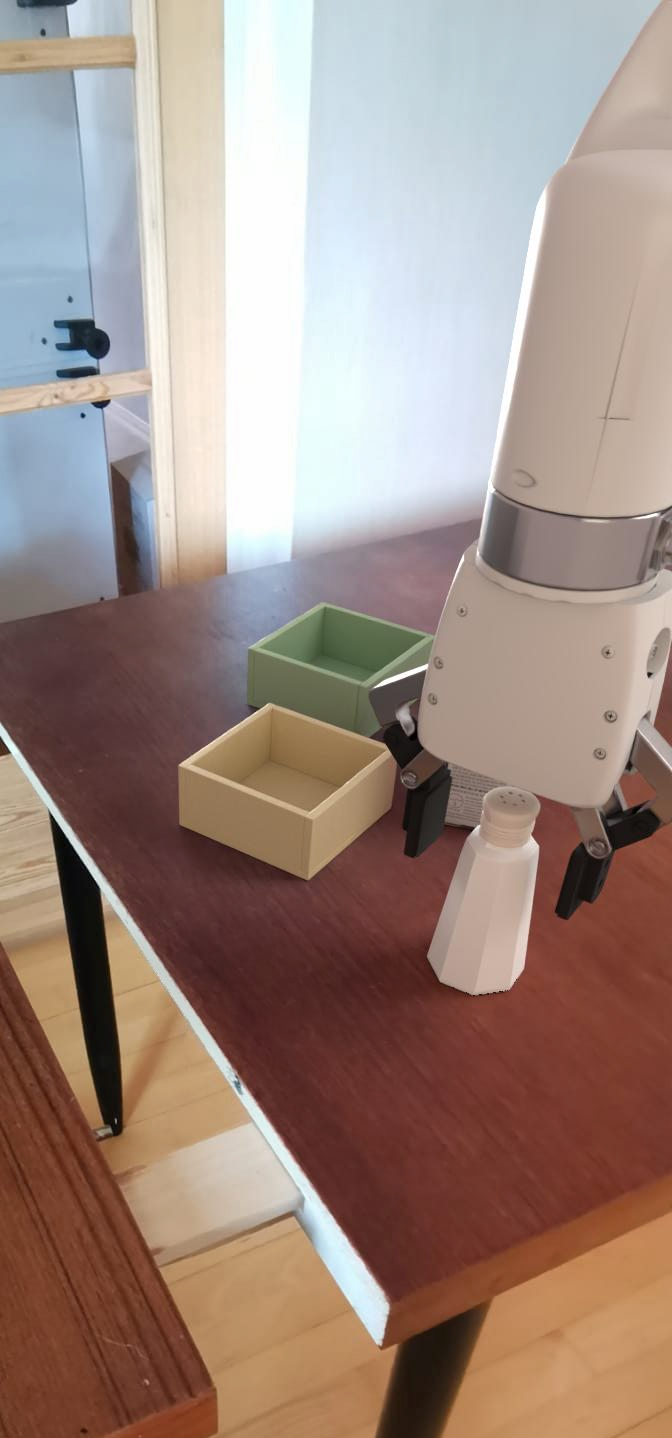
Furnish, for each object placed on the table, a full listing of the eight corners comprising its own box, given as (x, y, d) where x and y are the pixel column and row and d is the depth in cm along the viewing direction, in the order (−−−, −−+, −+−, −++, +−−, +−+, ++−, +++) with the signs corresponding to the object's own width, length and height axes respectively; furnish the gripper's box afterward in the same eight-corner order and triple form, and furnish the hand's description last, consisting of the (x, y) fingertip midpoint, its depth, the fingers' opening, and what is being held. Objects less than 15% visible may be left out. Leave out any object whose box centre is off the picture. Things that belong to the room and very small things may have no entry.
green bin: (428, 691, 85) (437, 635, 82) (360, 745, 79) (366, 687, 76) (318, 655, 90) (322, 601, 86) (246, 704, 84) (247, 648, 81)
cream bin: (391, 808, 73) (399, 748, 70) (308, 881, 68) (312, 819, 64) (267, 760, 78) (269, 702, 75) (179, 825, 72) (177, 765, 69)
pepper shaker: (472, 1010, 59) (512, 842, 52) (406, 956, 62) (434, 790, 55) (543, 973, 61) (592, 807, 54) (476, 923, 65) (512, 758, 57)
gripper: (816, 553, 44) (683, 901, 56) (431, 467, 51) (387, 789, 63) (757, 618, 39) (626, 979, 52) (346, 513, 47) (317, 849, 59)
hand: (495, 873), depth 57 cm, fingers open, 8 cm apart
